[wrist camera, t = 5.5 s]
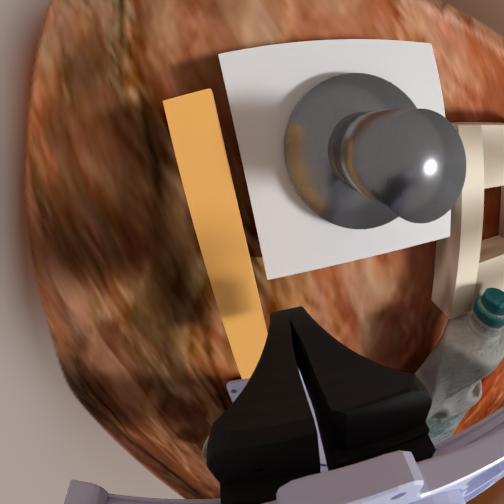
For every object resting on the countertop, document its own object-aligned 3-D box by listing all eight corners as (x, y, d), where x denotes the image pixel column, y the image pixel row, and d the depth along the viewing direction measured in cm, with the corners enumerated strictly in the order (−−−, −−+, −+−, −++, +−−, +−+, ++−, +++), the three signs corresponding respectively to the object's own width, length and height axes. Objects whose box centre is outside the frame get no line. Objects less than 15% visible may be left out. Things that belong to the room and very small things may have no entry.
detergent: (430, 428, 31) (522, 270, 19) (444, 469, 24) (566, 314, 13) (343, 443, 31) (417, 269, 20) (350, 492, 24) (464, 333, 13)
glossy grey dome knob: (402, 199, 18) (493, 250, 10) (288, 221, 19) (330, 297, 10) (387, 79, 15) (485, 61, 7) (262, 91, 16) (291, 54, 7)
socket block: (426, 222, 19) (449, 236, 16) (262, 257, 19) (267, 279, 17) (406, 51, 14) (431, 43, 12) (220, 66, 15) (218, 54, 12)
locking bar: (273, 359, 18) (275, 373, 17) (241, 365, 18) (242, 379, 17) (212, 91, 12) (210, 88, 11) (168, 103, 12) (162, 100, 11)
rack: (505, 271, 22) (524, 285, 19) (431, 300, 22) (450, 319, 19) (512, 123, 16) (537, 127, 13) (430, 122, 16) (457, 124, 14)
